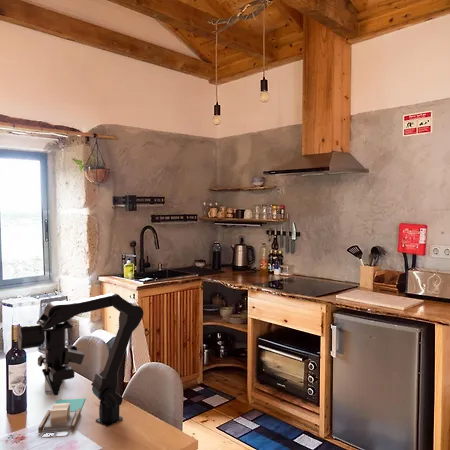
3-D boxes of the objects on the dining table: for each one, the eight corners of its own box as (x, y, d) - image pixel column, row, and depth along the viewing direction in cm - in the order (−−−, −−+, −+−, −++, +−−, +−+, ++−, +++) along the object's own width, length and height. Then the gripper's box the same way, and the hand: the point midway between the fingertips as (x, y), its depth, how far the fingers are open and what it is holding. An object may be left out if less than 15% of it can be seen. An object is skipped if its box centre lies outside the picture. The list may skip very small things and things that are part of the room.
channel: (72, 435, 130) (72, 429, 130) (36, 438, 128) (36, 431, 128) (80, 414, 144) (80, 408, 144) (47, 416, 143) (47, 410, 142)
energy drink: (50, 395, 159) (51, 363, 159) (42, 392, 162) (42, 361, 162) (63, 390, 163) (63, 359, 163) (54, 387, 166) (54, 357, 166)
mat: (80, 411, 146) (80, 410, 146) (50, 413, 145) (50, 412, 145) (85, 399, 156) (85, 398, 156) (56, 400, 154) (56, 399, 154)
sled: (70, 428, 133) (70, 413, 133) (43, 430, 132) (43, 414, 132) (76, 414, 143) (76, 399, 143) (51, 415, 142) (51, 400, 142)
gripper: (91, 346, 127) (91, 398, 127) (72, 332, 141) (72, 378, 142) (53, 353, 120) (52, 408, 120) (37, 338, 135) (37, 386, 135)
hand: (55, 394), depth 129 cm, fingers closed
